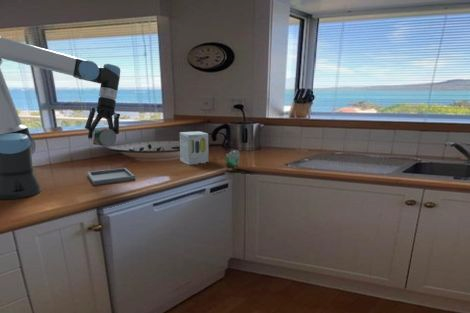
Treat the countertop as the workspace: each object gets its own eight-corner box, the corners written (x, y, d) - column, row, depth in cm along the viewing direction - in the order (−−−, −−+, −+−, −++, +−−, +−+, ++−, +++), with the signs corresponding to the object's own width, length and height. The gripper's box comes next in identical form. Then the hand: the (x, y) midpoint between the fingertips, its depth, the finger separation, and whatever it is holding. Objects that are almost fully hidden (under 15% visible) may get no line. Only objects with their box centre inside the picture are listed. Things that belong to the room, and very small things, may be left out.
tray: (135, 179, 146) (134, 175, 145) (93, 185, 136) (93, 181, 136) (125, 171, 161) (125, 167, 160) (87, 175, 151) (87, 172, 151)
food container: (237, 172, 161) (237, 154, 159) (225, 172, 163) (225, 153, 161) (241, 167, 173) (241, 149, 171) (230, 166, 174) (231, 149, 172)
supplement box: (187, 165, 177) (187, 134, 173) (179, 160, 188) (179, 132, 184) (208, 162, 183) (208, 133, 180) (199, 158, 194) (199, 131, 191)
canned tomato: (116, 128, 142) (104, 127, 149) (99, 129, 136) (87, 128, 143) (117, 145, 143) (105, 144, 150) (100, 147, 137) (89, 145, 144)
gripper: (89, 92, 133) (80, 144, 133) (131, 103, 149) (124, 150, 149) (81, 92, 138) (73, 143, 138) (123, 103, 154) (116, 149, 154)
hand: (99, 146), depth 143 cm, fingers closed on canned tomato, 8 cm apart
